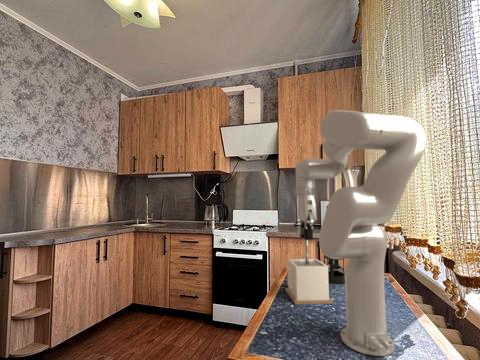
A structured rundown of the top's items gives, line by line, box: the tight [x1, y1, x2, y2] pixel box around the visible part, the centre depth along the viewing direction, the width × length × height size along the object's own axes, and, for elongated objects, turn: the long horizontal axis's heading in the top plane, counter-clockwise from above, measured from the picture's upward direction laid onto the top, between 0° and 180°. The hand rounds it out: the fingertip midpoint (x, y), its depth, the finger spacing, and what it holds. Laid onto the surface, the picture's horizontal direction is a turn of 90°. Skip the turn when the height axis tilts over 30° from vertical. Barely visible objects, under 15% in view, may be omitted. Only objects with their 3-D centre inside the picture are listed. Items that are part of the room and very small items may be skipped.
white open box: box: [285, 258, 334, 305], centre depth 99 cm, size 14×14×13 cm
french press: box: [323, 254, 345, 285], centre depth 118 cm, size 12×9×23 cm
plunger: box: [292, 228, 321, 266], centre depth 100 cm, size 10×10×15 cm
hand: (306, 238), depth 100 cm, fingers closed on plunger, 4 cm apart
